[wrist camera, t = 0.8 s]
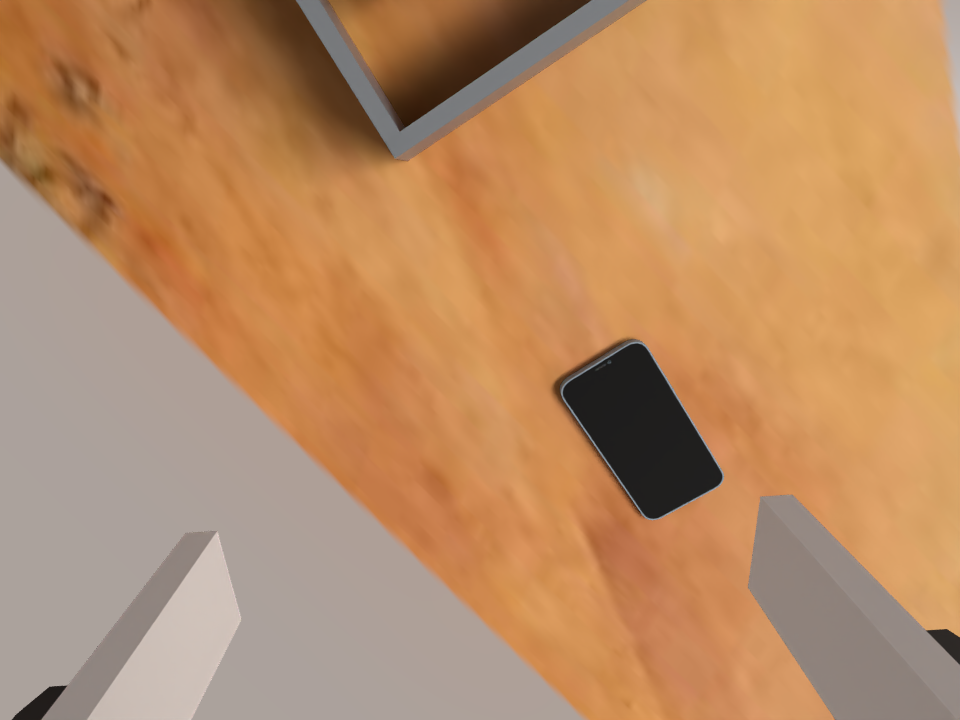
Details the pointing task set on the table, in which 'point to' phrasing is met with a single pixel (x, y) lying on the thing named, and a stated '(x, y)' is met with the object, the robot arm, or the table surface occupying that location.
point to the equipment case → (490, 87)
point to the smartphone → (642, 429)
